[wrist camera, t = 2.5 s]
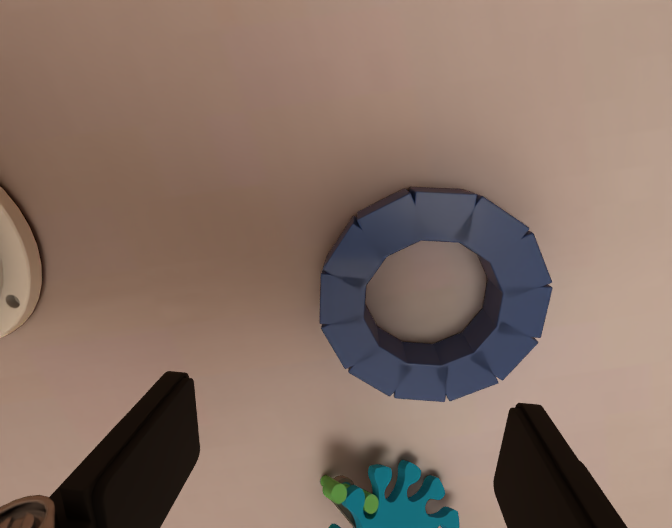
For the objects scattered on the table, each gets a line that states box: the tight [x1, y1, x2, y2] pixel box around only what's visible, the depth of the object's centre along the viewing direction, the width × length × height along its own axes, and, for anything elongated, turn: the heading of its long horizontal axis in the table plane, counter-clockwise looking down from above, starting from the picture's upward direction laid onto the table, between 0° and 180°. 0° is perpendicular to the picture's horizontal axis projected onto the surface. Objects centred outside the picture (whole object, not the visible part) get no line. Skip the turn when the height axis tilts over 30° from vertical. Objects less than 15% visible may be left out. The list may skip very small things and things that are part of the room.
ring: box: [320, 187, 552, 402], centre depth 20 cm, size 12×12×2 cm
